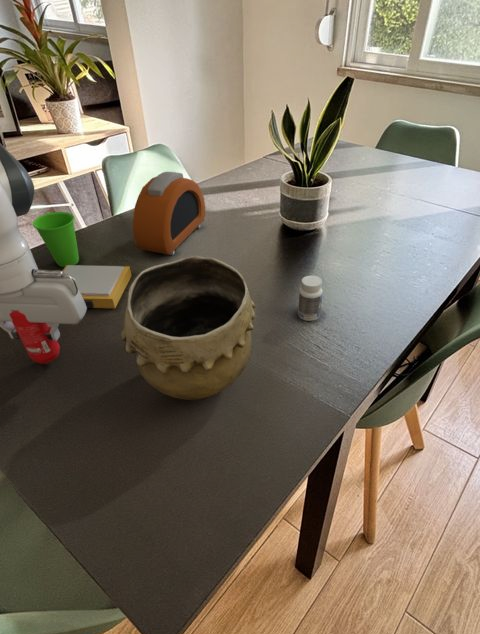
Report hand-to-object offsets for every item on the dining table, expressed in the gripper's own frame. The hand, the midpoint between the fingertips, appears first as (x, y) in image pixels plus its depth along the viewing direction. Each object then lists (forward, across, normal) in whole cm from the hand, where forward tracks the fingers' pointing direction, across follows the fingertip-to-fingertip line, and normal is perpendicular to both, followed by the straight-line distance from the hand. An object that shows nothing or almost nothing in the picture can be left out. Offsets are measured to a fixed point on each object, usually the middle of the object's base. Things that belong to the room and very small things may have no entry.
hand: (36, 337), depth 74 cm
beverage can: (+5, 0, 0) cm, 5 cm away
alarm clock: (+7, -13, -49) cm, 51 cm away
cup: (+7, +10, -36) cm, 38 cm away
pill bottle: (+6, -48, -17) cm, 52 cm away
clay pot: (+6, -29, +3) cm, 29 cm away
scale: (+7, 0, -24) cm, 25 cm away
